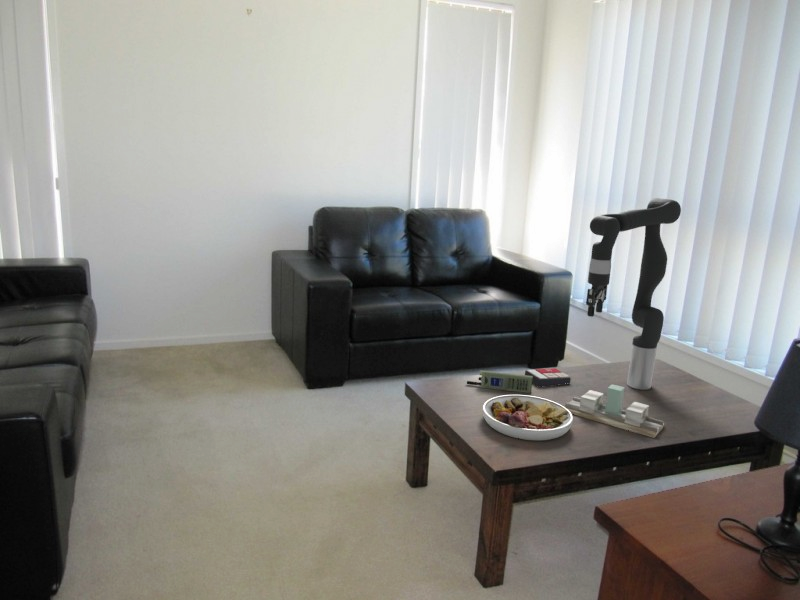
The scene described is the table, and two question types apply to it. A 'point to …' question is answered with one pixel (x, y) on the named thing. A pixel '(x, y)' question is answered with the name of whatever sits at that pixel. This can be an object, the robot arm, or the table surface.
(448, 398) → the table surface
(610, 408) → the sage module
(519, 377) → the handheld radio
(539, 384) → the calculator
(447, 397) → the table surface
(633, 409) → the rail board
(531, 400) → the bowl
